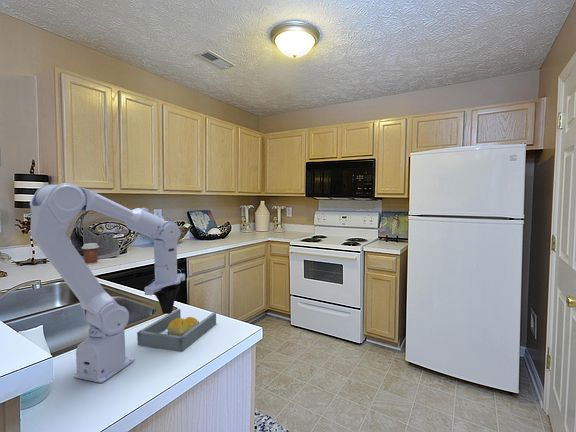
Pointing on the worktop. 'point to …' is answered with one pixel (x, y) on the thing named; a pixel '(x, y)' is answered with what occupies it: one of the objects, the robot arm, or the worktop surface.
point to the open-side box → (179, 343)
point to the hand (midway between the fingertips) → (167, 312)
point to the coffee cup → (90, 253)
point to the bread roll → (181, 326)
